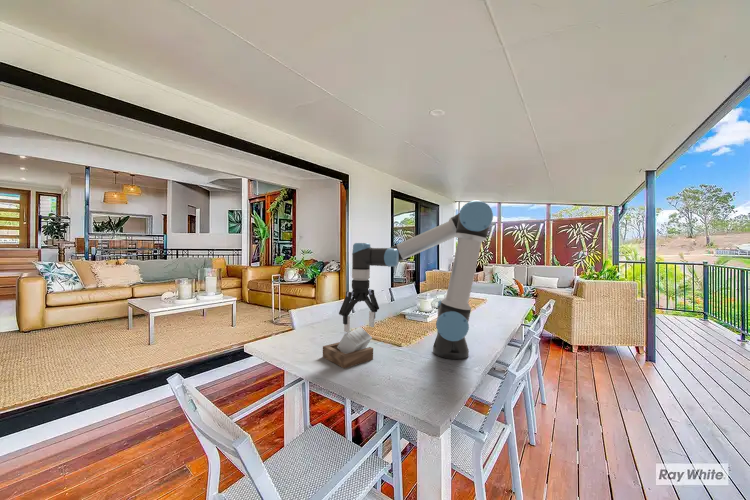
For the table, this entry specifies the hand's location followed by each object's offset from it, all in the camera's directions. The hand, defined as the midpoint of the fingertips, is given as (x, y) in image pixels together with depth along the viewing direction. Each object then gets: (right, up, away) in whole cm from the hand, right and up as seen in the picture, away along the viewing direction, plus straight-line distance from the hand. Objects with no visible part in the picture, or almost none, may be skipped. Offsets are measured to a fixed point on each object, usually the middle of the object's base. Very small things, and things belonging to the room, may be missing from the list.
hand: (359, 329), depth 123 cm
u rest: (-4, -11, -4) cm, 12 cm away
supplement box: (+1, -5, +4) cm, 6 cm away
